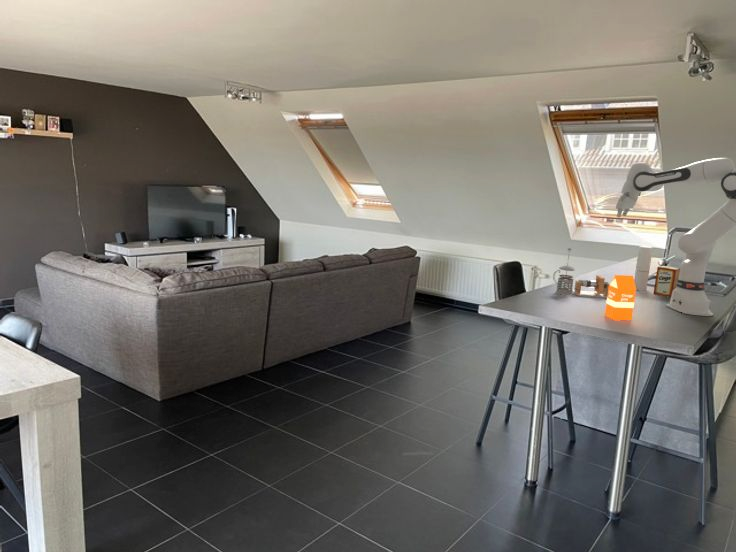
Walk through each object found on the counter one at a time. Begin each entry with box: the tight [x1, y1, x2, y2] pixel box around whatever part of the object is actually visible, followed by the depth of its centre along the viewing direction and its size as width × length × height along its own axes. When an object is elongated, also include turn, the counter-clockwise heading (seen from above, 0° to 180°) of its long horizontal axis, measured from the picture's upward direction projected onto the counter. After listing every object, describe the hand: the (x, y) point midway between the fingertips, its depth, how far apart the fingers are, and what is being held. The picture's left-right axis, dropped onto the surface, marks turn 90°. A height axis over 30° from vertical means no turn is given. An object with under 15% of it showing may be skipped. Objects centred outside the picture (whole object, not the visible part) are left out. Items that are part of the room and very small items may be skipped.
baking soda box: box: [653, 265, 680, 298], centre depth 304 cm, size 10×6×16 cm
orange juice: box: [604, 274, 637, 321], centre depth 246 cm, size 8×9×20 cm
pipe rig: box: [572, 279, 610, 299], centre depth 295 cm, size 11×19×8 cm, turn 82°
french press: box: [552, 247, 576, 296], centre depth 294 cm, size 10×12×25 cm
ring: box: [593, 274, 606, 294], centre depth 294 cm, size 9×2×9 cm, turn 172°
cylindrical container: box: [634, 245, 654, 291], centre depth 317 cm, size 7×7×25 cm
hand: (621, 216), depth 297 cm, fingers open, 8 cm apart
